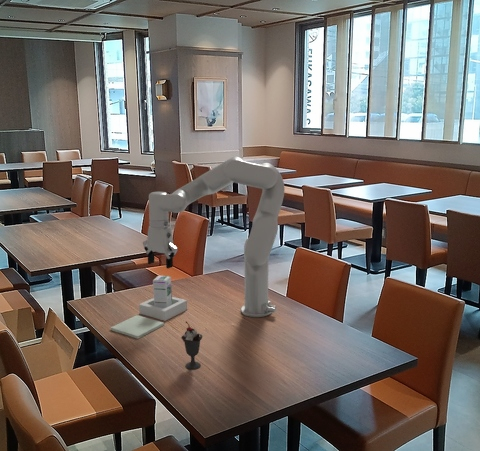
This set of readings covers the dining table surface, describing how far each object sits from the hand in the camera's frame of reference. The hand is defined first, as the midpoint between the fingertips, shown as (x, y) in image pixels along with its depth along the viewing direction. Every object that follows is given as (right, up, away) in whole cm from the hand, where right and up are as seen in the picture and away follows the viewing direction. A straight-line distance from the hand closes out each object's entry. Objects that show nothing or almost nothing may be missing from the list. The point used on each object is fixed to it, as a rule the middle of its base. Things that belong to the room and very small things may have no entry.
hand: (160, 265), depth 207 cm
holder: (+1, -19, +5) cm, 20 cm away
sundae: (+17, -30, -39) cm, 52 cm away
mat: (-7, -23, -10) cm, 26 cm away
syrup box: (+1, -19, +5) cm, 20 cm away
